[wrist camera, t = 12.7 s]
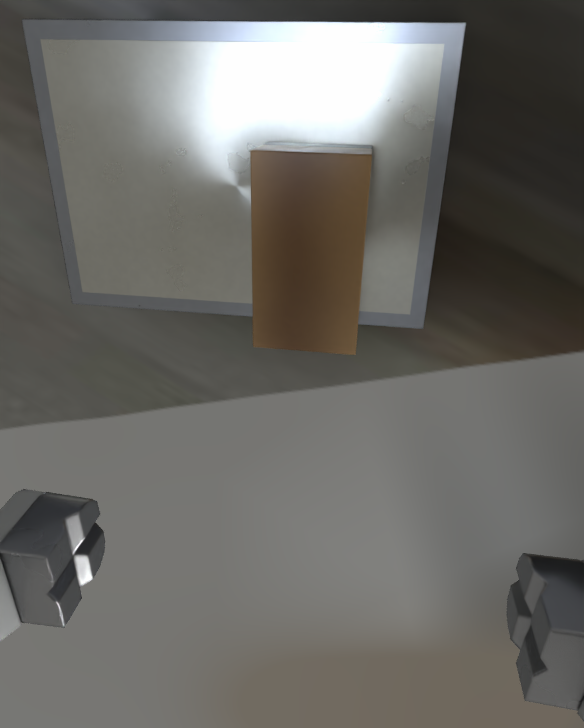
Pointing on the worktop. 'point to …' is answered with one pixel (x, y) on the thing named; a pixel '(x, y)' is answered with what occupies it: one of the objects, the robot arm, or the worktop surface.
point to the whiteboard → (236, 148)
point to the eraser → (308, 244)
